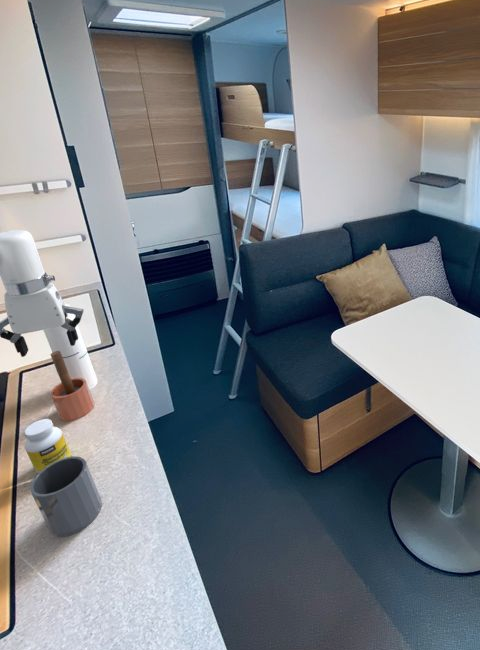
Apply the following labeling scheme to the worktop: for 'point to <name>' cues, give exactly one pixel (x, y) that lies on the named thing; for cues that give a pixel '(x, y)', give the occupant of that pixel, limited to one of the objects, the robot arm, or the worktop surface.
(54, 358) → the brush
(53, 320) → the robot arm
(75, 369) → the cylindrical container
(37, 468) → the pill bottle
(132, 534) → the worktop surface
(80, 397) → the cup
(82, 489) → the tumbler
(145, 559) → the worktop surface
